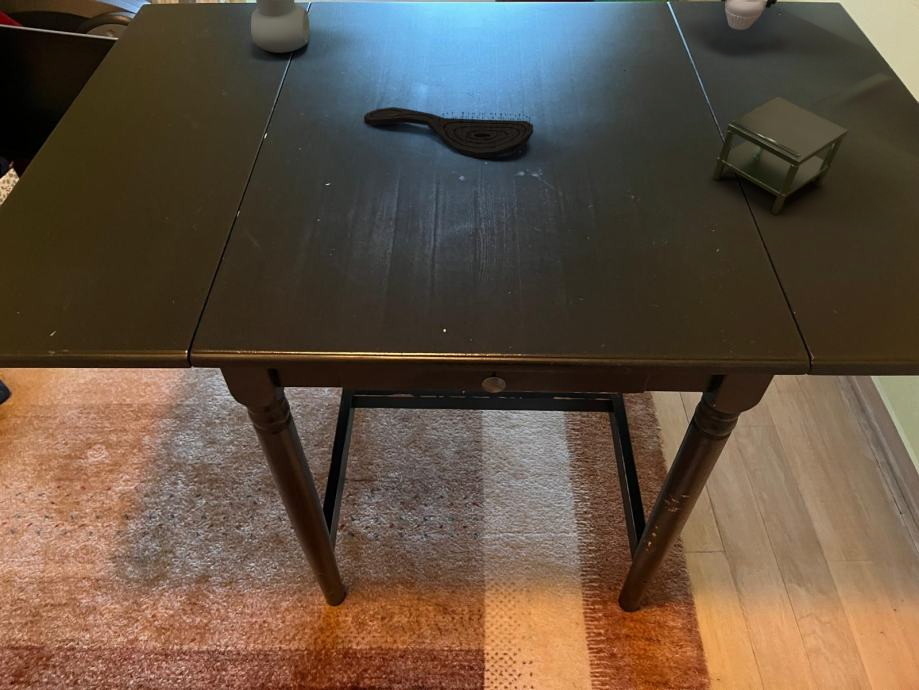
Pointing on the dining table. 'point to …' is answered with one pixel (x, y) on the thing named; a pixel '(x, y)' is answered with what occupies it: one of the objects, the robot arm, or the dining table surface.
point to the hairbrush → (462, 130)
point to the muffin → (743, 12)
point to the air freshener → (279, 25)
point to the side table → (780, 148)
